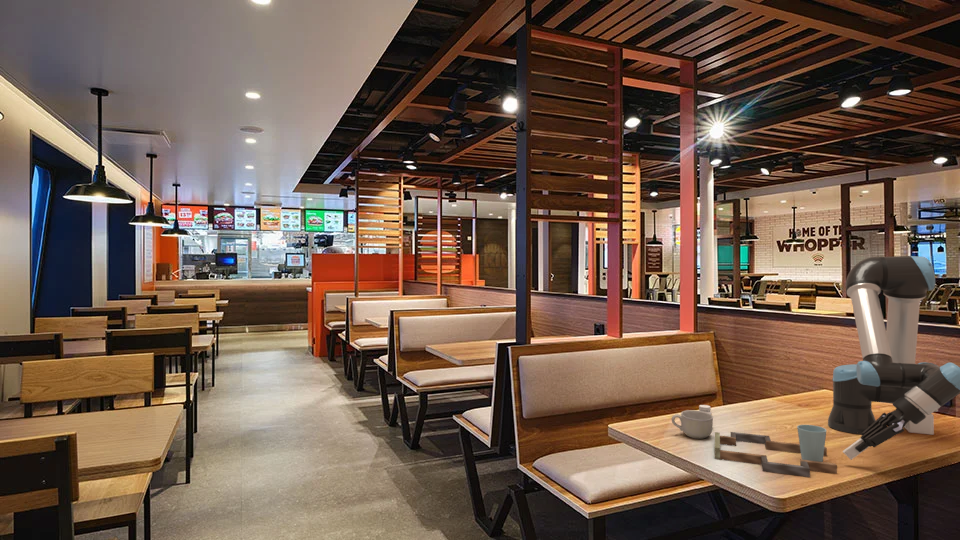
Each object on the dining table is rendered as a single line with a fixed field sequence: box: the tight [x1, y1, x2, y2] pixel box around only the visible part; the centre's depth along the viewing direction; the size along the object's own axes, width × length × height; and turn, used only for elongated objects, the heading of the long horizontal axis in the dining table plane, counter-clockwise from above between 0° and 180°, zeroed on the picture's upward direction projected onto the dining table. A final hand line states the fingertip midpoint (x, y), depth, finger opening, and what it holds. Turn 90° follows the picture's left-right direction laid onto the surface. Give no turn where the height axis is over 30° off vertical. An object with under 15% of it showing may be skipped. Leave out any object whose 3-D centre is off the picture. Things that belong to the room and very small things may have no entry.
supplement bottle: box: [698, 404, 713, 416], centre depth 198 cm, size 5×5×8 cm
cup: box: [796, 424, 827, 462], centre depth 163 cm, size 8×8×10 cm
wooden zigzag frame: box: [714, 431, 838, 478], centre depth 168 cm, size 32×28×4 cm
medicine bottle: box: [903, 413, 935, 436], centre depth 191 cm, size 7×7×12 cm
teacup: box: [671, 409, 714, 440], centre depth 189 cm, size 14×11×8 cm
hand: (846, 455), depth 159 cm, fingers closed
